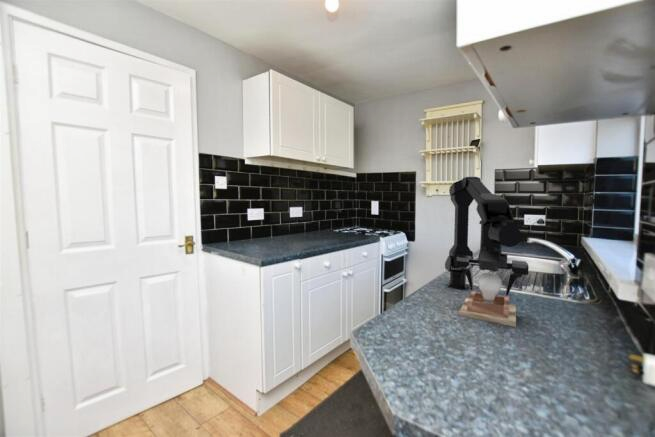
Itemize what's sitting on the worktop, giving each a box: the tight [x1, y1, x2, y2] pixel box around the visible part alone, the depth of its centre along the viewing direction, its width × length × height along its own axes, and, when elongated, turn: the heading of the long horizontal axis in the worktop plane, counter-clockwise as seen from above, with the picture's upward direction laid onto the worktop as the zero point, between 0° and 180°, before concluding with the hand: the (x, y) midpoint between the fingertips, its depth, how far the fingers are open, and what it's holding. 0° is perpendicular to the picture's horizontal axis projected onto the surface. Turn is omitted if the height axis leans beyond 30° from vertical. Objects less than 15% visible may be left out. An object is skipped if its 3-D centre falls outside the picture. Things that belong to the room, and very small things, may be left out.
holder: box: [459, 290, 517, 328], centre depth 89 cm, size 14×14×4 cm
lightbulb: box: [477, 272, 503, 304], centre depth 89 cm, size 6×6×11 cm
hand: (488, 292), depth 89 cm, fingers open, 9 cm apart
